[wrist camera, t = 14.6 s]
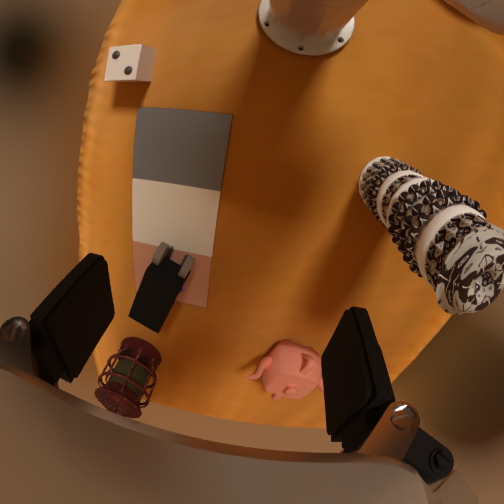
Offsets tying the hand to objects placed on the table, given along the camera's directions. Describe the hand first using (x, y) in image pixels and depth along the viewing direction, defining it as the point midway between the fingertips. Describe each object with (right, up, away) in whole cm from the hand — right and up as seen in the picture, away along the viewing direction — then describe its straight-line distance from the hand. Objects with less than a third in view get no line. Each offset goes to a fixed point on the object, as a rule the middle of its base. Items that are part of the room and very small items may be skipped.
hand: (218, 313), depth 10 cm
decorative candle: (+20, +12, +26) cm, 35 cm away
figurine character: (-13, -1, +37) cm, 39 cm away
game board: (-11, +8, +32) cm, 34 cm away
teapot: (+9, -18, +44) cm, 49 cm away
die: (-15, +29, +20) cm, 38 cm away
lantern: (-25, -21, +50) cm, 59 cm away
